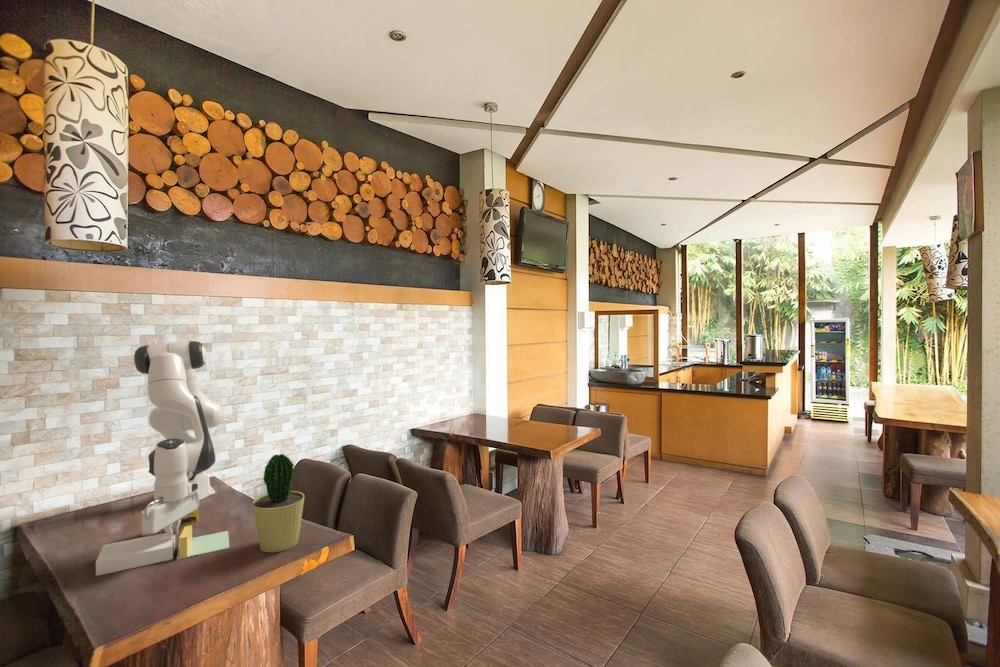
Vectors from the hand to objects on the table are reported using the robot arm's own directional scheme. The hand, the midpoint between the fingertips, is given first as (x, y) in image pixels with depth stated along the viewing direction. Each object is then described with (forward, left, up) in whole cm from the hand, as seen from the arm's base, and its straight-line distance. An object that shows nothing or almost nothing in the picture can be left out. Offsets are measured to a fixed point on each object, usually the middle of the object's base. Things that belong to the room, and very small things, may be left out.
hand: (172, 535), depth 148 cm
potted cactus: (+12, +29, -5) cm, 32 cm away
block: (+2, +3, -2) cm, 4 cm away
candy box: (-20, -2, -6) cm, 21 cm away
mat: (0, +8, -5) cm, 10 cm away
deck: (0, -9, -5) cm, 10 cm away
